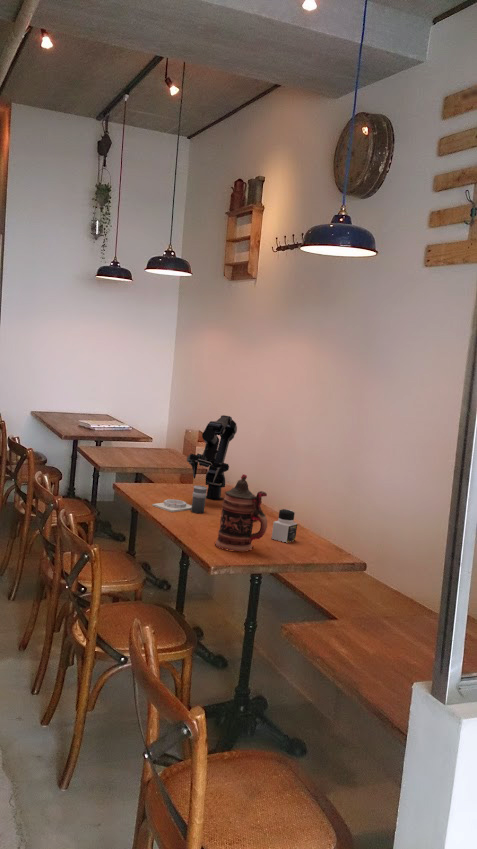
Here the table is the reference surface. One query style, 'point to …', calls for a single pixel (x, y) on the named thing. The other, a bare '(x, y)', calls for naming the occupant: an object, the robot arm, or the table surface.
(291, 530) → the medicine bottle
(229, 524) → the beer stein
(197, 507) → the grey round piece
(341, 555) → the table surface
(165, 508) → the board
